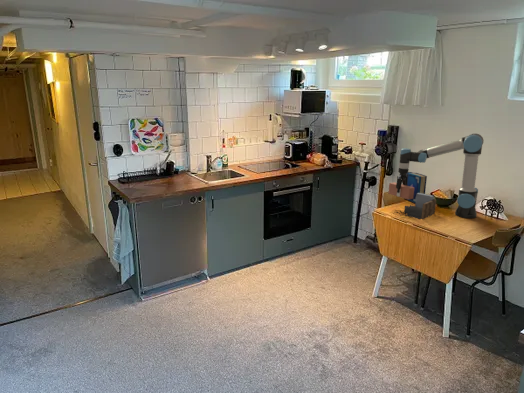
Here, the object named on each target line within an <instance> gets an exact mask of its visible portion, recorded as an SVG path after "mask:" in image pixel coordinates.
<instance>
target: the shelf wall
mask: <svg viewBox="0 0 524 393" xmlns="http://www.w3.org/2000/svg"><path fill="white" fill-rule="evenodd" d="M436 204H437V199H436V198H435V199H434V200H431V201H429V202H426V203H424V204H423V208H422V216H421V219H420V220H425V219H427V218H429V217H431V216H434V215H435V212H436V206H437V205H436Z"/></svg>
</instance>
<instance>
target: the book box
mask: <svg viewBox="0 0 524 393" xmlns="http://www.w3.org/2000/svg"><path fill="white" fill-rule="evenodd" d="M396 184H397V182H395V181H394V182H389V185H388V194H389V195H392V196H394V197H395V196H396V197H398V196H397V188H396ZM400 189H401V193H400V197H399V198H401V199H405V200H407V199H413V196H414V187H410V186H407V185H403V184H402V185H401V188H400Z"/></svg>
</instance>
